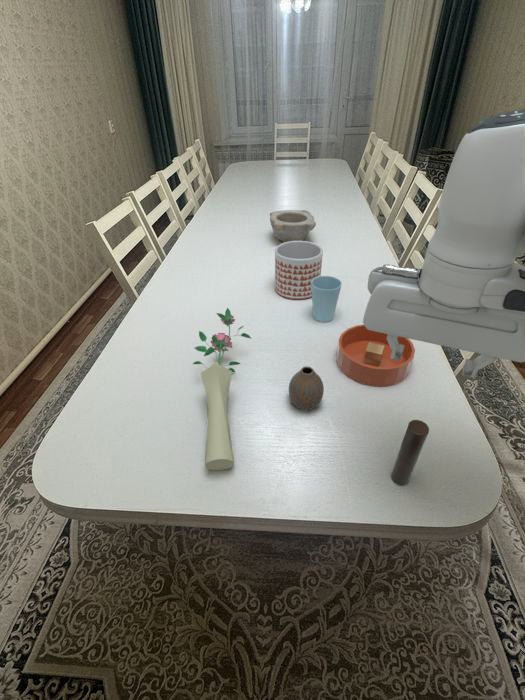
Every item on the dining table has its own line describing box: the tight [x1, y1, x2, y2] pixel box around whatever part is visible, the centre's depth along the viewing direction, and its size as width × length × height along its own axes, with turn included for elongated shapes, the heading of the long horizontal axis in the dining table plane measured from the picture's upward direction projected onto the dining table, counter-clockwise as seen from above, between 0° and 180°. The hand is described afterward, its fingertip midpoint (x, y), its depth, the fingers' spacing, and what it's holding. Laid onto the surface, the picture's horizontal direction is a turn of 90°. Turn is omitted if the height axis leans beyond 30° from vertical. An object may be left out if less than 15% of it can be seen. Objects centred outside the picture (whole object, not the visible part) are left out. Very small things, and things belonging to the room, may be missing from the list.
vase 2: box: [274, 240, 324, 300], centre depth 106 cm, size 14×14×13 cm
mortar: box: [269, 209, 317, 243], centre depth 139 cm, size 17×17×9 cm
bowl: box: [336, 324, 416, 387], centre depth 81 cm, size 16×16×5 cm
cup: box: [311, 275, 342, 323], centre depth 95 cm, size 8×8×10 cm
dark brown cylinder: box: [390, 419, 430, 486], centre depth 55 cm, size 3×3×13 cm
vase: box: [288, 365, 325, 411], centre depth 71 cm, size 7×7×9 cm
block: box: [364, 342, 384, 366], centre depth 81 cm, size 4×4×4 cm
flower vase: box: [192, 307, 252, 471], centre depth 72 cm, size 12×12×35 cm
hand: (430, 365), depth 50 cm, fingers open, 8 cm apart
